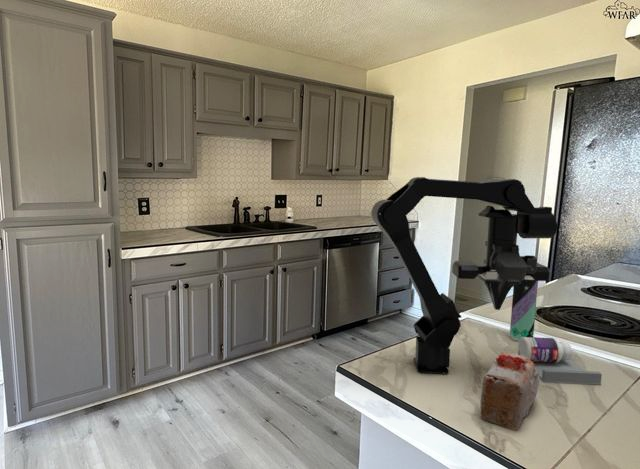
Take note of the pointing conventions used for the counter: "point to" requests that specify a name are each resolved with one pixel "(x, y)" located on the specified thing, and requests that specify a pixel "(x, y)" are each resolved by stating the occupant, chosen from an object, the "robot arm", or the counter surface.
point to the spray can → (523, 309)
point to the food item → (509, 390)
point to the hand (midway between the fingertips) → (496, 309)
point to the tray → (566, 373)
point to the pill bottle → (544, 349)
